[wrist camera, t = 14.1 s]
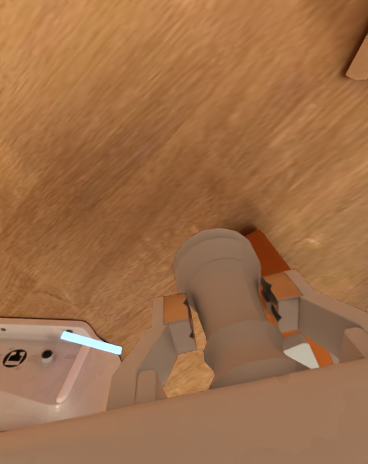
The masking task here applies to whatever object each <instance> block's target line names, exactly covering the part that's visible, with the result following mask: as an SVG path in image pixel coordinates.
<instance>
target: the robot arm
mask: <svg viewBox="0 0 368 464" xmlns="http://www.w3.org/2000/svg"><path fill="white" fill-rule="evenodd" d="M260 284H261V286H262V288H263V289H262V291H261V298H262V302H263V305H264V308H265V310H266V312H267V313H268V314H270V315H271V321H272V323H273V325H274V326H276V327H278V328H279V329H280V331H281V333H283V332H288V331H294V330H298V331H300V332H301V333H302V334H304V335H305V336H307V337H308V338H310V339H311V340H312V341H314V342H315V343H317V344H318V345H320V346H321V347H322V348H324V349H325V350H327V351H328V352H330V353H331V354H332V355H334V356H335V357H337V358H338V359H339V363H338V364H333V365H328V366H323V367H318V368H313V369H308V370H304V371H299V372H294V373H289V374H284V375H279V376H274V377H269V378H264V379H260V380H255V381H250V382H245V383H240V384H235V385H230V386H225V387H220V388H215V389H210V390H206V391H201V392H196V393H191V394H186V395H181V396H176V397H171V398H167V397H166V395H165V392H164V389H163V387H164V385H165V383H166V380H167V378H168V376H169V374H170V371H171V369H172V367H173V365H174V363H175V360H176V358H177V355H178V354H182V353H186V352H191V351H195V350H197V347H196V340H195V334H194V330H193V328H194V327H193V321H192V315H191V311H190V306H189V304H188V298H187V294H186V292H185V293H179V294H174V295H169V296H164V297H159V298H153V300H152V313H151V328H147V330H146V331H145V332H144V334H143V335H142V336H141V338H140V339H139V340H138V342H137V343H136V344H135V346H134V347H133V348H132V350H131V351H130V352H129V354H128V355H127V357H126V358H125V359H124V361H123V362H122V363H121V360H120V357H119V356H118V354H119V355H120V353H121V349H122V347H118V346H115V345H111V344H108V343H105V342H104V341H102V340H101V339H100V338H98V337H97V336H96V334H95V333H94V331H93V329H92V328H91V327H90V326H89V325H88V324H87V323H85V322H83V321H70V320H45V319H19V318H0V464H368V312H366V311H363V310H361V309H359V308H356V307H354V306H351V305H349V304H347V303H344V302H342V301H339V300H337V299H335V298H332V297H330V296H327V295H325V294H323V293H316V292H315V291H314V289H313V288H312V287H311V286H310V285H309V284H308V283H307V282H306V280H305V279H304V278H303V277H302V276H301V275H300V274H299V272H298V271H297V270H295V269H293V270H288V271H284V272H281V273H276V274H271V275H267V276H262V277H261V278H260ZM105 410H106V411H105Z"/></svg>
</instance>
